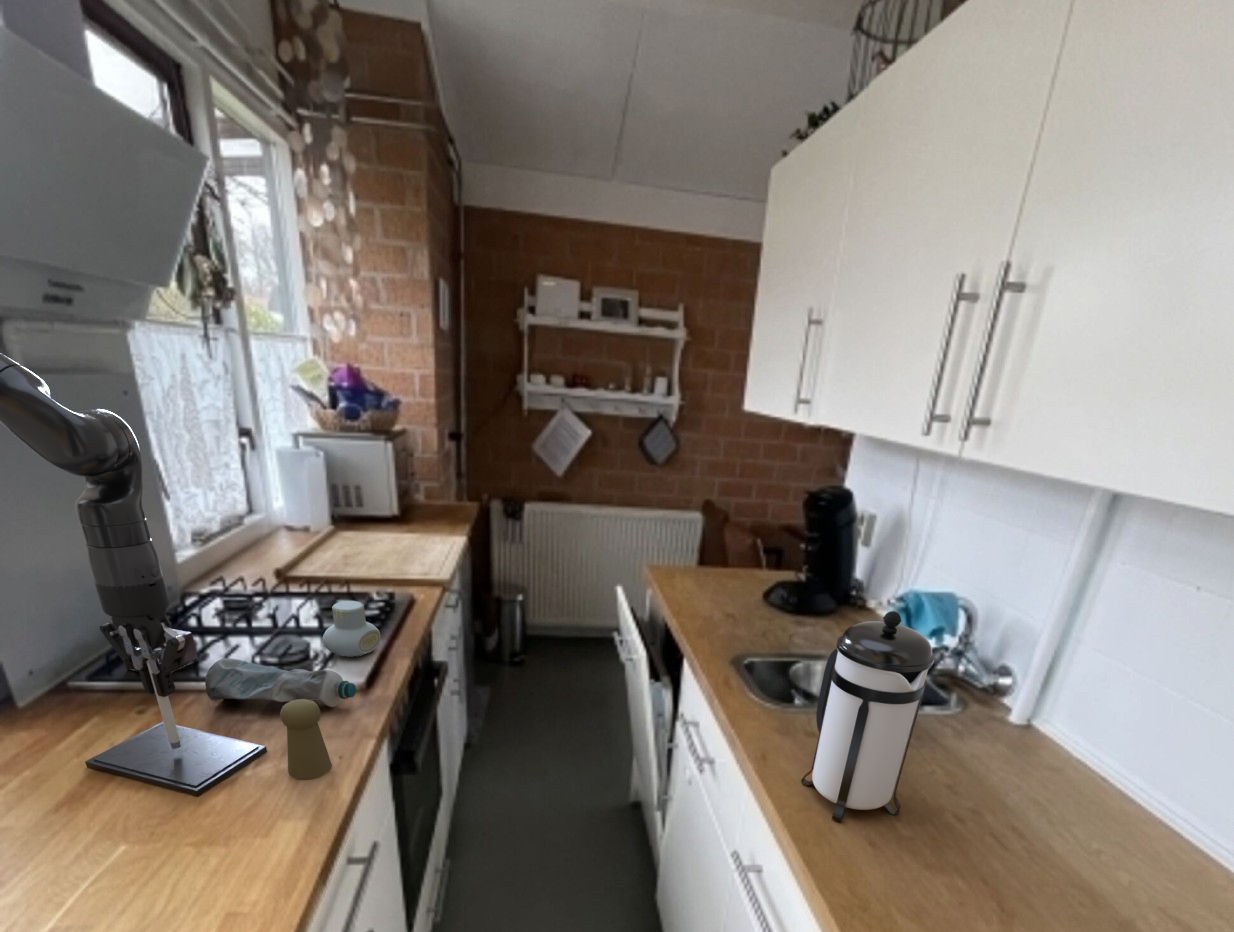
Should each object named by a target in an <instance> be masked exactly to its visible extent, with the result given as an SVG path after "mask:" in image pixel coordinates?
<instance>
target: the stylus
mask: <svg viewBox="0 0 1234 932" xmlns="http://www.w3.org/2000/svg"><path fill="white" fill-rule="evenodd" d="M158 662H159V661H158ZM147 666H148V669H149V673H150V676H151V680H152V683H153V687H154V691H155V693H154V695H155V698H156V700H157V704H158V708H159V711H160V715H161V718H162V722H164V726H165V729H166V733H167V736H168V740H169V742H170V744H171V748H172V749H177V748H180V747H181V744H180V737H179V734H178V730H177V726H176V725H177V723H176V720H175V716H174V712H173V708H172V705H171V701H170V698H169V695H168V696H166V697H161V696H158V694H157V691H156V687H155V684H154V680H153V676H152V673H153V672H152V670H151V668H150V664H149V661H147Z"/></svg>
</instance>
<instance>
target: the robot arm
mask: <svg viewBox="0 0 1234 932" xmlns="http://www.w3.org/2000/svg"><path fill="white" fill-rule="evenodd" d="M0 424H1V425H2V426H4V428H5V429H7V430H8V431H9V433H11V435H13V436H14V437H15V438H16V439H18V440H19V441H20V442H21V443H23V445H25V446H26V447H27V448H28V449H30V450H31V451H32V452H33V453H34V454H36V455H37V456H38V457H39V458H41V460H43V461H45V462H47V463H48V464H50V465H51V466H53V467H54V468H57V469H59V470H61V471H63V472H65V473H67V474H71V475H74V476H77V477H83V478H84V489H83V492H82V493H81V494H80V495H79V497H78V498H77V499H76V501H75V513H76V517H77V521H78V524H79V527H80V531H81V534H82V537H83V538H82V539H83V542H84V545H85V549H86V556H87V562H88V566H89V569H90V572H91V573H90V574H91V576H92V579H93V583H94V587H95V589H96V592H97V596H98V599H99V603H100V606H101V609H102V611H103V613H104V614H106V615H108V616H110V618H111V621H110V622H108V623H104V624H101V625H100V626H99V631H100V632H101V633H102V635H103V636H104V637H105V639H106V640H107V641H108V643H109V644H110V646H111V647H112V648H113V649H114V651H115V652H116V654H117V655H118V656H119V658H120V659H121V661H122V662H123V663H124V664H125V663H126V664H129V663H131V664H133V665H134V668H135V669H136V670H139V673H138V674H139V677H140V680H141V684H142V686H143V689H144V691H145V694H148V695H155V691H154V687H153V683H152V680H151V676H150V673H149V669H148V666H147V661H149V664H150V668H151V670H152V672H153V673H152V676H153V680H154V684H155V687H156V691H157V694H158V696H161V697H166V696H168V697H169V696H170V695H172V694H174V693H175V691H176V684H175V680H174V676H173V673H171V670H172V669H174V668H176V667H179V666H182V664H183V660H184V657H185V654H186V651H187V648H188V644H189V641H190V638H189V636H188V635H187V634H182V635H179V634H178V633H176V632H175V631H174V630H172V629H173V628H172V627H173V626H172V623H171V621H170V620H169V618H168V616H167V614H166V613H167V609H168V608H169V606H170V604H171V601H170V597H169V593H168V591H167V586H166V582H165V578H164V574H163V570H162V566H161V562H160V559H159V555H158V552H157V550H156V548H155V545H154V542H153V539H152V536H151V533H150V529H149V524H148V521H147V517H146V514H145V510H144V507H143V488H144V486H143V464H142V463H143V462H142V461H143V460H142V453H141V450H140V445H139V442H138V440H137V437H136V435H135V434H134V431H133V430H132V428H131V427H130V426H129V424H128V423H127V422H126V421H125V420H124V419H123V418H121V417H120V416H119V415H118V414H115V413H114V412H111V411H109V410H107V409H100V408H92V409H84V410H79V411H72V410H70V409H68V408H67V407H65V406H63V405H61V404H60V403H58V402H57V401H56V400H54V399H53V398H52V397H51V391H50V388H49V386H48V384H46V382H45V381H44V380H43V379H42V378H41V377H39V376H38V375H37V374H35V373H34V372H33V371H31V370H29V369H28V368H26V367H25V366H23V365H21V364H20V363H19V362H16V361H14V360H13V359H12V358H10V357H8V356H6V355H5V354H4V353H2V352H0ZM123 646H125V648H126V650H125V649H124V647H123ZM160 656H161V658H162V661H161V663H159V662H158V657H160Z"/></svg>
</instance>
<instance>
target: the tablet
mask: <svg viewBox="0 0 1234 932" xmlns="http://www.w3.org/2000/svg"><path fill="white" fill-rule="evenodd" d="M176 726H177V730H178V734H179V737H180V744H181V747H180V748H177V749H172V748H171V744H170V742H169V740H168V736H167V733H166V729H165V726H164V722H163V721H161V722H160V723H157V724H155V725H153V726H152V727H150V728H147V729H146V730H144V731H141V732H140V733H138V734H136V735H134V736H132V737H130V738H128V739H126V740H124V741H122V742H120V743H118V744H117V745H115V746H112V747H111V748H109V749H106V750H105V751H103V752H100V753H99V754H97V755H95V756H93V757H91V758H89V759H87V760H84V763H85V766H86V768H88V769H92V770H96V771H100V772H104V773H107V774H112V775H114V776H119V777H123V778H127V779H130V780H134V781H138V782H142V783H144V784H145V783H146V784H149V785H151V786H152V785H153V786H157V787H161V788H164V789H167V790H171V791H175V792H179V793H183V794H185V795H191V796H194V797H201V796H202V795H203V794H205V793H206V792H207V791H209V790H211V789H212V788H214V787H215V786H217V785H219V784H220V783H222V782H223V781H224V780H226V779H228V778H230V777H231V776H232V775H234V774H235V773H237V772H238V771H240V770H241V769H243V768H245V767H246V766H248V765H249V764H250V763H252V762H254V761H255V760H257V759H258V758H260V757H262V756H263V755H264V754H266V753H267V752H268V747H267V746H266V745H263V744H262V745H261V744H259V743H253V742H249V741H245V740H241V739H236V738H232V737H228V736H224V735H220V734H216V733H211V732H207V731H203V730H199V729H194V728H192V727H191V728H190V727H186V726H181V725H178V724H176Z"/></svg>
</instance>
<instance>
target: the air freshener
mask: <svg viewBox="0 0 1234 932" xmlns="http://www.w3.org/2000/svg"><path fill="white" fill-rule="evenodd" d="M331 608H332V609H331V610H332V618H333V624H331V625H330V626H329V627H328V628H327V629H326V630H325V632H324V633H323V636H322V643H323V646H324V647H325V649H327V650H328V651H329V652H331V653H333V654H335V655H337V656H339V657H340V656H341V657H345V656H346V658H347V657H348V658H354V657H353V656H356V657H361V656H360V655H364V654H366V655H368V654H369V653H371V652H372V651H374V650H375V649H376V648H377V647H378V645H380V642H381V639H382V637H381V635H382V634H381V632H380V630H379V629H378V628H377V627H376V626H375V625H374V624H372V623H370V622H369V621H366V613H365V605H364V604H363V603H362V602H360V601H358V600H342V601H339V602H336V603H335V604H333V606H332V607H331ZM367 653H368V654H367ZM364 656H365V655H364Z"/></svg>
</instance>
